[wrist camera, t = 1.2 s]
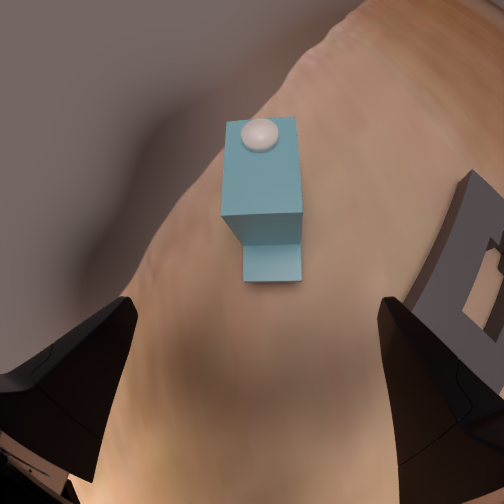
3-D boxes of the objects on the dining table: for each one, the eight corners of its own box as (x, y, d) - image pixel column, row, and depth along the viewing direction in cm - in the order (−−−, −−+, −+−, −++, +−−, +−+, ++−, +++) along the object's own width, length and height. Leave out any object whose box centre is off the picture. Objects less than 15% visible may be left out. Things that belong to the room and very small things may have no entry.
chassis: (472, 405, 16) (488, 412, 13) (381, 338, 20) (393, 341, 17) (532, 258, 18) (548, 252, 15) (458, 182, 21) (472, 169, 18)
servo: (300, 286, 22) (305, 261, 12) (251, 286, 22) (215, 263, 12) (295, 166, 24) (291, 82, 14) (253, 168, 25) (227, 87, 15)
